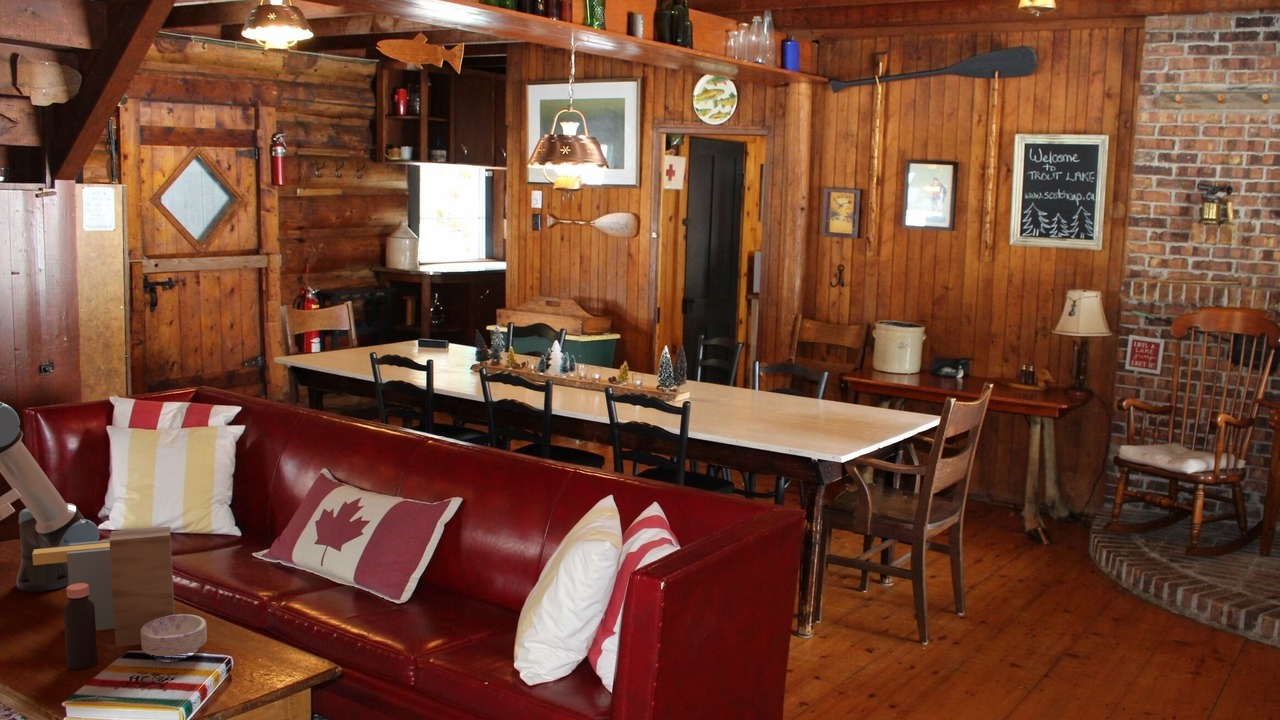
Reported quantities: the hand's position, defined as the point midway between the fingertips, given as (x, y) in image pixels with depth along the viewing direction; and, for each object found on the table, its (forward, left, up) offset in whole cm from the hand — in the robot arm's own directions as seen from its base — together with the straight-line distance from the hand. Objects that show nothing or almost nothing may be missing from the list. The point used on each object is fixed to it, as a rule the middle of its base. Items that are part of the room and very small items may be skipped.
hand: (15, 499), depth 302 cm
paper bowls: (+30, +37, -35) cm, 59 cm away
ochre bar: (+2, +16, -17) cm, 23 cm away
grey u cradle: (+2, +20, -35) cm, 40 cm away
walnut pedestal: (+16, +30, -35) cm, 49 cm away
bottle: (+29, +16, -35) cm, 49 cm away
